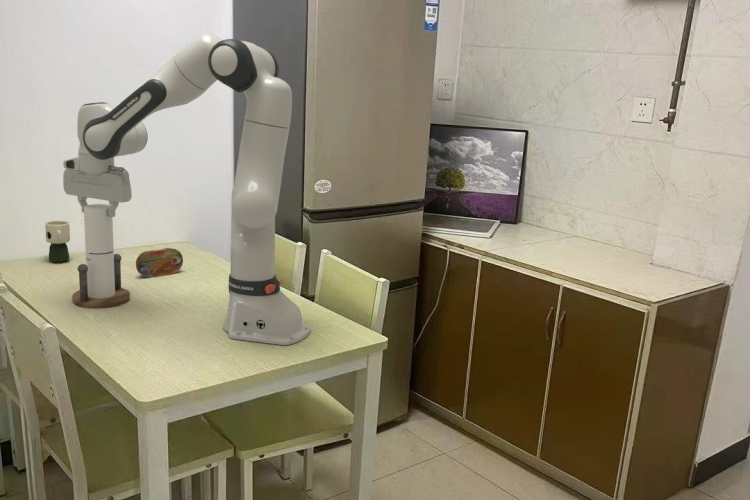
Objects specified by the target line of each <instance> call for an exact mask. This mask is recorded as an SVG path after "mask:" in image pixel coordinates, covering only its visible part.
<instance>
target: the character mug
mask: <svg viewBox="0 0 750 500" xmlns="http://www.w3.org/2000/svg"><path fill="white" fill-rule="evenodd" d="M44 227H45V240H46V241H45V242H46V243H48V244H50V245H49V248H48V249H49V250H48V261H49V262H51V263H56V262H58V263H61V262H64V261H65V262H66V261H69V260H70V254H69V248H68V244H67V243H69V242H70V240H71V236H70V235H71V232H70V222H69V221H67V220H50V221H46V222H45V225H44Z"/></svg>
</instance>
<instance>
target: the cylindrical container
mask: <svg viewBox="0 0 750 500" xmlns="http://www.w3.org/2000/svg"><path fill="white" fill-rule="evenodd" d="M110 206H111V205H109V204H104V203H103V204H101V203H96V204H95V203H93V204H88V205H86V206H84V213H83V217H84V219H83V220H84V224H83V225H84V243H85V246H84V247H85V262H86V263H85V265H87V267H88V271H87V284H88V297H91V298H98V299H99V298H108V297H112V296H114V295H115V278H114V254H115V253H114V229H113V227H114V226H113V217H107V215H106V214H107V213H106V210H109V209H110Z"/></svg>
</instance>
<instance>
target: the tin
mask: <svg viewBox="0 0 750 500" xmlns="http://www.w3.org/2000/svg"><path fill="white" fill-rule="evenodd" d="M183 263H184V258H183V254H182V252H181V251H180V250H178V249H176V248H172V247H165V248H159V249H150V250H146V251H143V252H141V253H140V254H139V255H138V256H137V257H136V260H135V268H136V270H137V272H138V273H139V274H140V275H141V276H143V277H144V278H149V279H150V278H157V277H162V276H168V275H174V274H176V273H178V272H179V271H180V270H181V269H182V266H183Z"/></svg>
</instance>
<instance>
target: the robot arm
mask: <svg viewBox="0 0 750 500" xmlns="http://www.w3.org/2000/svg"><path fill="white" fill-rule="evenodd" d="M279 65H280V63H279V61H278V60H277V58H276V56H275V55H274V54H273V53H272V52H271V51H270V50H268V49H266V48H264V47H261V46H258V45H257V44H255V43H253V42H249V41H246V40H240V39H237V38H227V39H221V38H220V37H219V36H217V35H215V34H211V33H203V34H202V35H200V36H197V37H196V38H194V39H193V40H191V41H190V42H189V43H188V44H186V45H185V46H184V47H182V48H181V49H180V50H179V51H178V52H177V53H176V54H175V55H174V56H172V58H171V59H170V60H169V61H167V62H166V63H165V64H164V65H163V66H162V67H161V68H160V69H159V70H158V71H157V72H156V73H154V74H153V75H152V76H151V77H150V78H149V79H148V80H146V81H145V82H144V83H143V84H142V85H141V86H139V87H138V88H137V89H135V90H134V91H133V92H132V93H130V94H129V95H128V96H127V97H126V98H125V99H124V100H122V101H121V102H120V103H118V104H117V105H116V106H115V107H113V105H112V104H110V103H109V102H106V101H105V102H104V101H103V102H102V101H100V102H89V103H84V104H83V105H81V106H80V107H79V110H78V114H77V123H76V125H77V127H76V128H77V138H78V142H79V147H78V153H77V154H78V156H76V157H73V158H69V159H66V160H63V164H62V165H63V166H62V167H63V168H64V169H65V170H63V173H62V174H63V176H62V177H63V178H62V180H63V181H62V182H63V191H64V193H65V194H66V195H69V196H75V197H77V201H78V203H79V206H80V207H81V213H83V214H84V206H86V205H89V204H88V202H87V200H88V198H90V199H93V200H94V199H95V200H103V201H108V205H111V206H110V209H109V210H106V213H107V214H106V215H107V217H112V218H115V217H116V211H117V208H118V206H119V204H120V203H127V202H130V201H131V199H132V195H133V194H132V187H131V186H132V185H131V180H130V174H129V172H128V170H126V169H125V167H123V166H115V157H122V156H127V155H133V154H137V153H139V152H141V151H143V150H144V149H145V147H146V145H147V143H148V138H149V137H148V131H147V128H146V126H145V124H144V123H143V121H144V120H145V119H146V118H148V117H149V116H151V115H152V114H154V113H156V112H160V111H162V110H166V109H169V108H174V107H181V106H184V105H188V104H189V103H191V102H193V101H195V100H196V99H198V98H200V97H201V96H202V95H203V94H204V93H205V92H206V91H208V89H209V88H211V86H213V85H214V84H215V83H216V82H217V81H219V82H220V83H221V84H223V85H225V86H227V88H228V87H229V88H230V89H232V90H233V91H235V92H237V93H243V94H244V96H245V98H246V109H245V114H244V119H243V125H242V131H241V138H240V144H239V150H238V155H237V156H238V159H237V165H236V171H235V178H234V184H233V188H232V190H231V191H232V192H231V203H230V204H231V215H230V218H231V222H230V223H231V224H230V225H231V226H230V228H231V229H230V237H231V238H230V273H229V275H228V293H229V297H228V306H227V307H228V308H227V313H226V316H225V320H224V323H223V330H224V331H225V332H227V334H228V338H230V339H232V340H240V341H249V342H253V343H254V342H255V343H261V344H262V343H263V344H270V345H271V344H272V345H280V346H289V345H292V344H296V343H299V342H300V341H302V340H304V339H305V338H306V337H308V336H309V334H311V326H310V325H309V324H306V323H303V317H302V311H301V309H300V307H299V305H297V304H296V303H294V302H293V301H292V300H291V299H290V298H289V297H288V296H287V295H286V294H285V293H284V292H283V291H281V288H280V287H281V285H283V284H284V282H283V281H284V278H283V279H281V280H278V277H277V275H276V274H275V260H276V215H277V212H278V206H279V201H280V193H281V187H282V179H283V172H284V171H283V170H284V164H285V156H286V150H287V146H288V138H289V134H290V127H291V121H292V109H293V91H292V88H291V86H290V85H289V84H288V83H287V82H286V81H285V80H283V79H282V78H279V76H280V75H279V74H280V66H279Z"/></svg>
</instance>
